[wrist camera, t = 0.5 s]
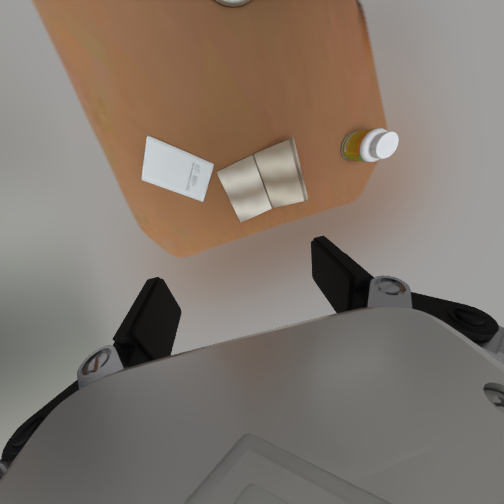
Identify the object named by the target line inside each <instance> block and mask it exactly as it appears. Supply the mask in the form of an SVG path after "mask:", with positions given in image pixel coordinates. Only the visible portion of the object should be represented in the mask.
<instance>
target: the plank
mask: <svg viewBox="0 0 504 504" xmlns="http://www.w3.org/2000/svg"><path fill="white" fill-rule="evenodd" d="M254 157H255V159H256V162H257V165H258V168H259V170H260V173H261V176H262V179H263V182H264V184H265V187H266V190H267V193H268V196H269V198H270V201H271V204H272V207H273V208H275V207H279V206H284V205H288V204H293V203H297V202H302V201H307V200H308V195H307V191H306V187H305V183H304V179H303V174H302V170H301V166H300V162H299V158H298V154H297V149H296V145H295V141H294V137H292V138H290V139H288V140H285V141H283V142H281V143H278V144H276V145H273V146H271V147H269V148H266V149H264V150H261V151H259V152H257V153H255V154H254Z"/></svg>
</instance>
